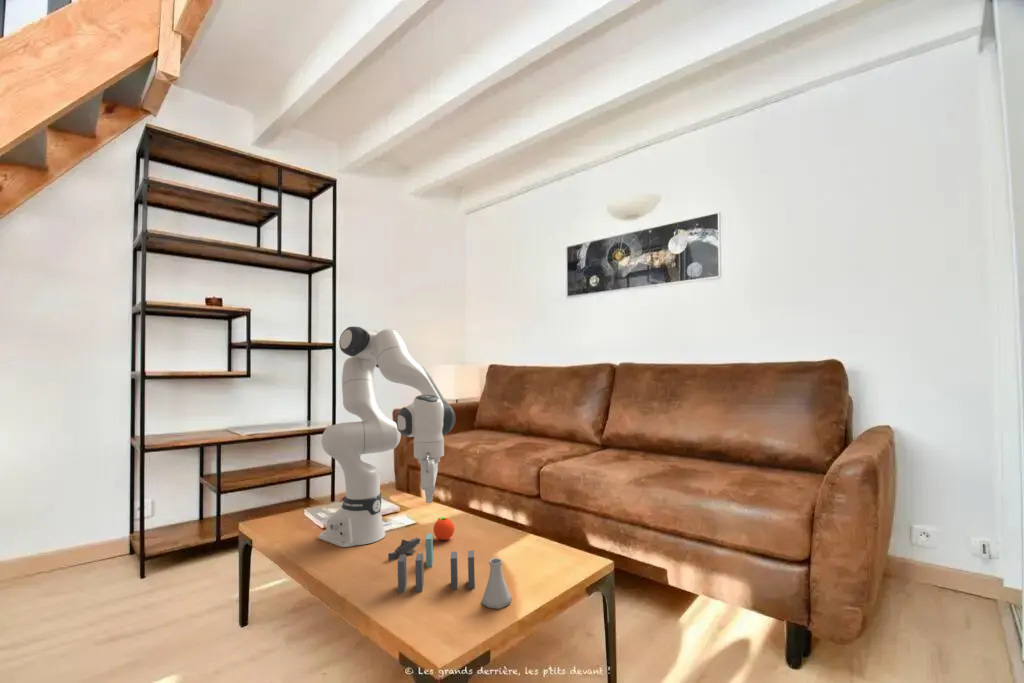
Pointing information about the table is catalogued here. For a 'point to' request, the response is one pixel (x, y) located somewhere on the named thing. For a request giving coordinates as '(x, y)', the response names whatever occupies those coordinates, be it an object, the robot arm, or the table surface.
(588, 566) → the table surface
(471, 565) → the domino
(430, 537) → the domino
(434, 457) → the robot arm
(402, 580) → the domino
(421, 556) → the domino
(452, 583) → the domino
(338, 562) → the table surface
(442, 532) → the clementine
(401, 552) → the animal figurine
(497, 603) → the flask
